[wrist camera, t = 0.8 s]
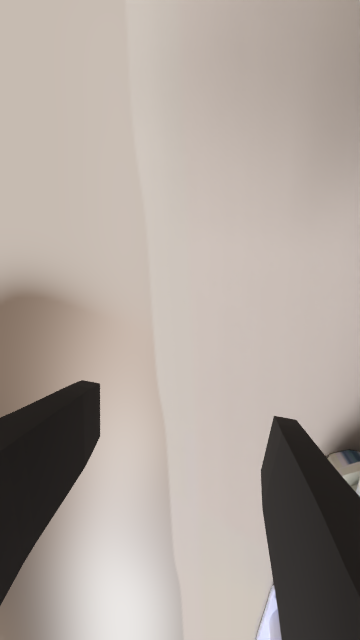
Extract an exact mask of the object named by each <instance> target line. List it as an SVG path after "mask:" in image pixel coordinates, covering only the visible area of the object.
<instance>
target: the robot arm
mask: <svg viewBox="0 0 360 640" xmlns="http://www.w3.org/2000/svg"><path fill="white" fill-rule="evenodd" d="M99 437H100V384H99V383H94V382H88V381H79V382H77V383H74V384H72V385H70V386H68V387H65V388H63V389H61V390H59V391H57V392H55V393H53V394H51V395H49V396H46V397H44V398H42V399H40V400H38V401H36V402H34V403H32V404H30V405H27V406H25V407H23V408H21V409H19V410H17V411H15V412H12V413H10V414H8V415H6V416H3V417H1V418H0V605H1V603H2V602H3V600H4V598H5V596H6V594H7V592H8V590H9V589H10V587H11V585H12V583H13V581H14V580H15V578H16V576H17V574H18V572H19V570H20V568H21V567H22V565H23V563H24V561H25V560H26V558H27V557H28V555H29V553H30V552H31V550H32V548H33V547H34V545H35V543H36V542H37V540H38V539H39V537H40V535H41V534H42V533H43V531H44V530H45V528H46V526H47V525H48V523H49V522H50V520H51V519H52V517H53V516H54V514H55V513H56V511H57V509H58V508H59V506H60V505H61V503H62V502H63V500H64V499H65V497H66V496H67V494H68V493H69V491H70V490H71V488H72V486H73V485H74V483H75V482H76V480H77V479H78V477H79V475H80V474H81V472H82V471H83V469H84V467H85V466H86V464H87V462H88V460H89V458H90V456H91V454H92V452H93V450H94V448H95V446H96V443H97V441H98V439H99ZM261 484H262V506H263V514H264V521H265V528H266V535H267V542H268V548H269V555H270V561H271V568H272V575H273V581H274V585H273V586H272V588H271V592H270V595H269V598H268V601H267V604H266V608H265V611H264V614H263V617H262V621H261V624H260V627H259V630H258V634H257V637H256V640H360V496H359V495H358V494H357V493H356V492H355V491H354V490H353V488H352V487H351V486H350V485H349V484H348V483H347V481H346V480H345V479H344V478H343V477H342V476H341V474H340V473H339V472H338V471H337V470H336V469H335V467H334V466H333V465H332V464H331V462H330V461H329V460H328V459H327V458H326V456H325V455H324V454H323V453H322V451H321V450H320V449H319V448H318V446H317V445H316V444H315V443H314V442H313V440H312V439H311V438H310V436H309V435H308V434H307V433H306V431H305V430H304V429H303V428H302V426H301V425H300V424H299V423H298V422H297V420H293V419H288V418H283V417H277V416H274V418H273V423H272V427H271V431H270V435H269V439H268V444H267V448H266V452H265V456H264V460H263V465H262V469H261Z"/></svg>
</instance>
